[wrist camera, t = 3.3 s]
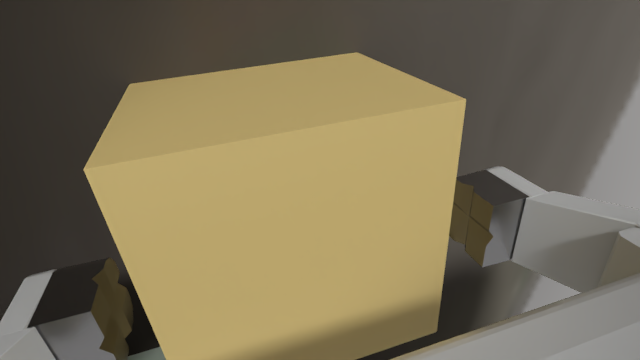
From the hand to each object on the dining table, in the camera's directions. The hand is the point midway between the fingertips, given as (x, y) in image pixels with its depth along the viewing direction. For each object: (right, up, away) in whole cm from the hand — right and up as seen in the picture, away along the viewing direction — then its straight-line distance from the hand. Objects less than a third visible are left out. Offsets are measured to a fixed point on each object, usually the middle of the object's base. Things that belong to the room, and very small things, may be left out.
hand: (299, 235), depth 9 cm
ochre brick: (-1, +2, +2) cm, 3 cm away
